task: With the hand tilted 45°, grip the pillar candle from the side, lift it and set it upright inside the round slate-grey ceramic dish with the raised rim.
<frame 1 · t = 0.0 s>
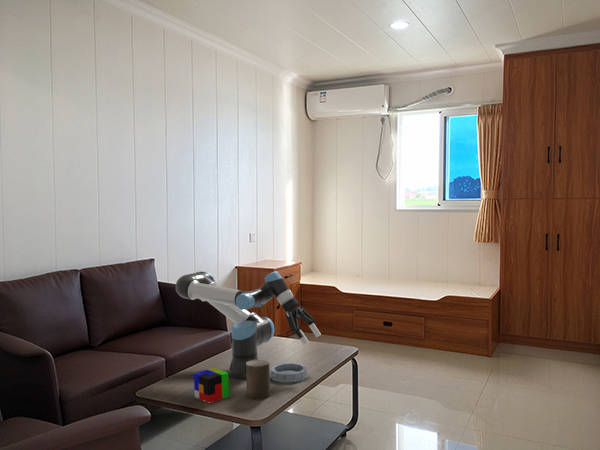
hand: (312, 339, 237), 15 cm above the table, tool tilted 35°, fingers open, 13 cm apart
candle dish: (289, 376, 232), on the table
pillar candle: (258, 395, 211), on the table
puzzle toy: (211, 397, 210), on the table
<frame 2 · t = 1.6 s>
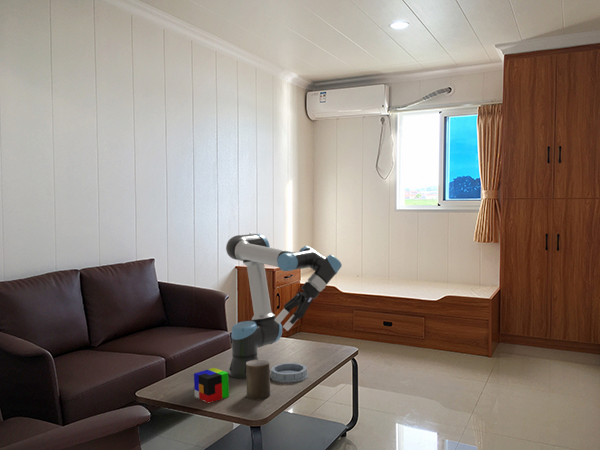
hand: (280, 325, 213), 28 cm above the table, tool tilted 45°, fingers open, 13 cm apart
nothing on the table moved.
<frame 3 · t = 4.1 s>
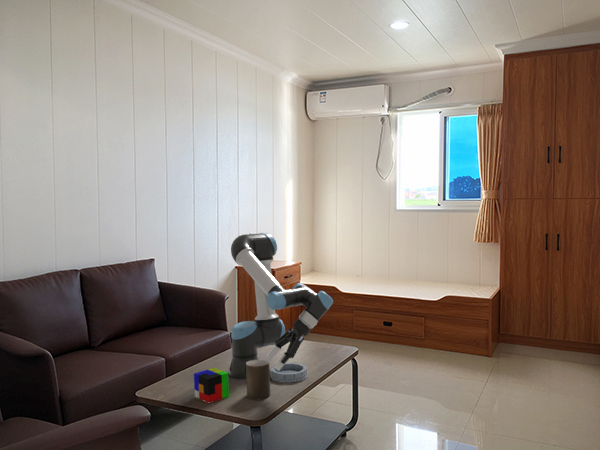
hand: (271, 364, 210), 13 cm above the table, tool tilted 45°, fingers open, 13 cm apart
nothing on the table moved.
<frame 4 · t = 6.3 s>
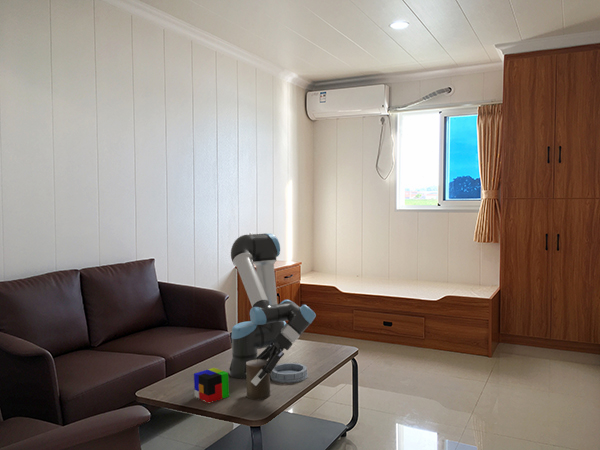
hand: (250, 379, 209), 7 cm above the table, tool tilted 45°, fingers closed on pillar candle, 9 cm apart
pillar candle: (258, 395, 211), on the table, touching gripper
everything else where it was.
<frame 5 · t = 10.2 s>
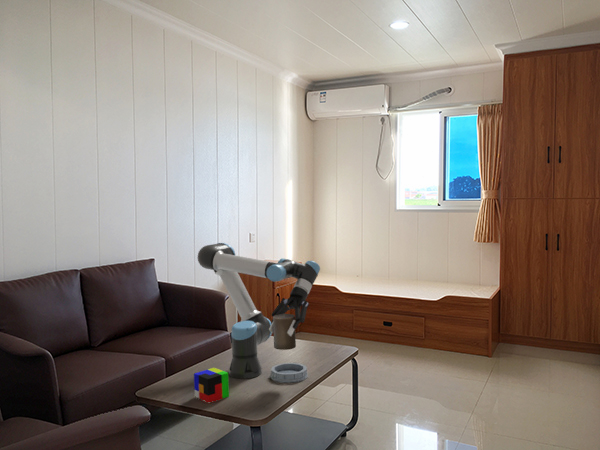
hand: (279, 332, 221), 23 cm above the table, tool tilted 45°, fingers closed on pillar candle, 9 cm apart
pillar candle: (284, 347, 224), point 16 cm above the table, touching gripper
everything else where it was.
when the fingers open (10 cm above the table, at t = 14.0 s): pillar candle drops 2 cm, resting on candle dish.
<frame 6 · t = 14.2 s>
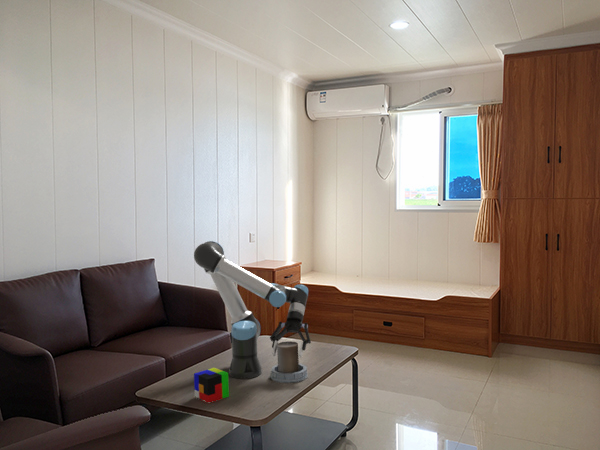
hand: (286, 355, 229), 10 cm above the table, tool tilted 45°, fingers open, 12 cm apart
pillar candle: (288, 374, 233), point 1 cm above the table, touching candle dish
everything else where it was.
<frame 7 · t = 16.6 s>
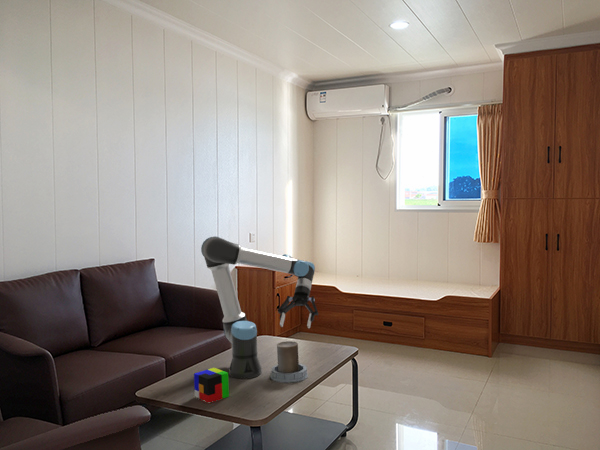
hand: (294, 326, 241), 21 cm above the table, tool tilted 45°, fingers open, 13 cm apart
nothing on the table moved.
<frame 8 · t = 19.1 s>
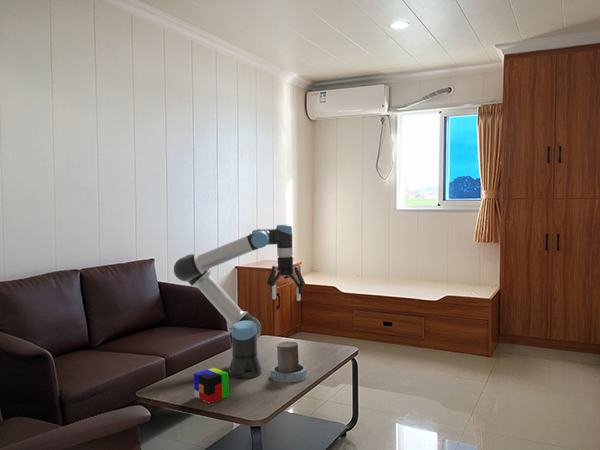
hand: (286, 299, 249), 32 cm above the table, tool pointing down, fingers open, 13 cm apart
nothing on the table moved.
at the end: pillar candle 0.4 cm off-centre on the candle dish, point 1.0 cm above the candle dish's base; pillar candle tilted 1°; the gripper is holding nothing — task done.
